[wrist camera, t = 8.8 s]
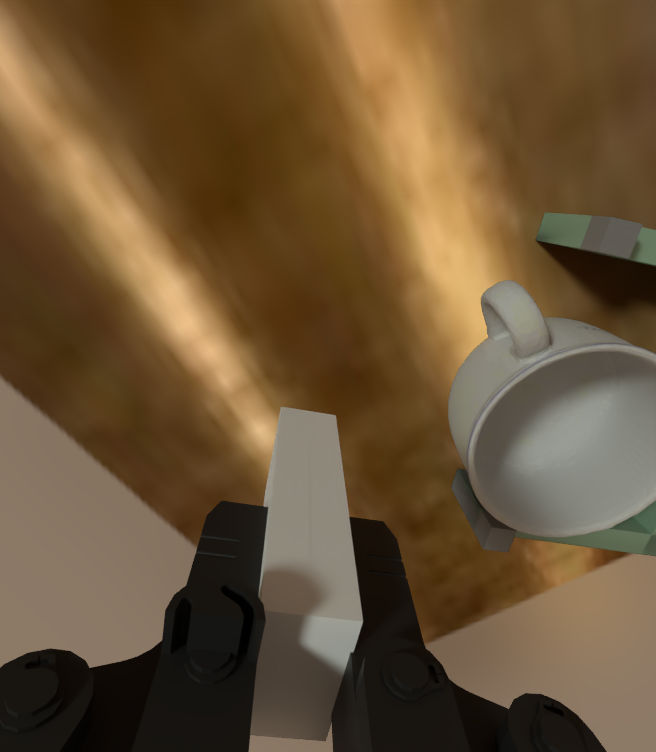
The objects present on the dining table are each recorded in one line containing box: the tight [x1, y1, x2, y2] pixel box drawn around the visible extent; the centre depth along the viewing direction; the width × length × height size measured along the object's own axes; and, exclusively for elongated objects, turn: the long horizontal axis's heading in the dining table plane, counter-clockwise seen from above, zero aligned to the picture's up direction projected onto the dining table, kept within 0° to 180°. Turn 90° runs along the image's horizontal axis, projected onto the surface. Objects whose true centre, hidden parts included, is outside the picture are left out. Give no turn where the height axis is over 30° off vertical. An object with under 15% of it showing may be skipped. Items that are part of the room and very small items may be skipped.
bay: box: [451, 213, 656, 556], centre depth 27 cm, size 18×12×6 cm
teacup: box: [448, 280, 656, 537], centre depth 26 cm, size 14×11×8 cm
